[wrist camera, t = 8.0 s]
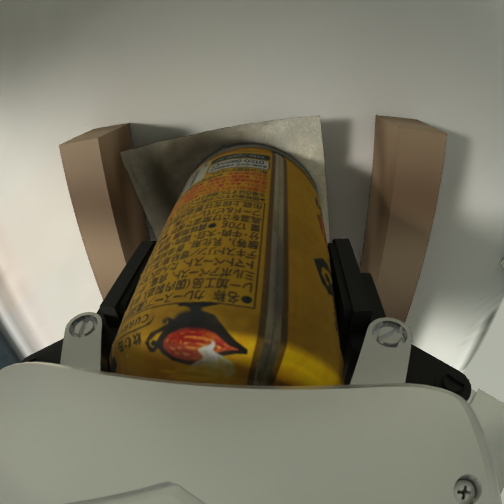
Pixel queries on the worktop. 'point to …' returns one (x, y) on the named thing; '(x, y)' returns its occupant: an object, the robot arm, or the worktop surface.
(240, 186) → the yellow and black cylinder
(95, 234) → the channel
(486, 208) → the worktop surface
